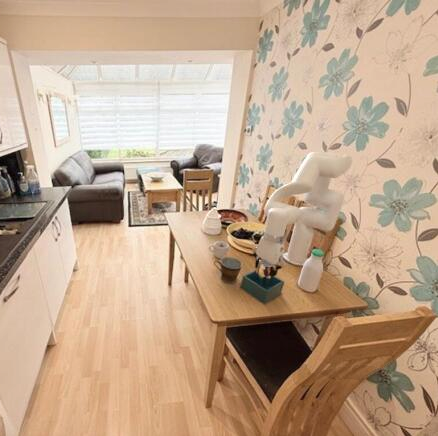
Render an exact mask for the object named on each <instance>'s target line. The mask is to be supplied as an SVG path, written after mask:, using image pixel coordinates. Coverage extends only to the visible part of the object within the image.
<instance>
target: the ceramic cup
mask: <svg viewBox="0 0 438 436" xmlns="http://www.w3.org/2000/svg"><path fill="white" fill-rule="evenodd" d="M216 263H217V264H219V266H220V267H219V266H218V265H216ZM213 265H214V266H215V267H216V268H217V269H218V270H219V271H220V273H221V280H222V281H223V282H224V283H226V284H234V283H236V282H237V278H238V276H239V274H240V272H241V270H242V267H243V262H242V261H241V260H239V259H237V258H236V257H231V256H226V257H225V258H222V259H220V261H219V260H215V261H214V262H213Z"/></svg>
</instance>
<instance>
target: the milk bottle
mask: <svg viewBox="0 0 438 436" xmlns="http://www.w3.org/2000/svg"><path fill="white" fill-rule="evenodd" d="M310 253H311V254H310V256H309V257H308V258H307V259H308V260H307V261H306V262H305V263H304V265H303V266H302V268H301V271H300V274H299V277H298V280H297V287H298V288H299V289H301V290H303V291H305V292H308V293H314V292H316V291H317V290H318V287H319V284H320V281H321V278H322V275H323V272H324V264H323V258H324V256H325V251H323V250H321V249H317V248H313V249H312V250H311V252H310Z"/></svg>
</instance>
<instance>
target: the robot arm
mask: <svg viewBox="0 0 438 436" xmlns="http://www.w3.org/2000/svg"><path fill="white" fill-rule="evenodd" d="M352 162H353V159H352V156H351V155H349V154H347V153H346V154H345V153H337V152H327V151H311V152H309V153H308V154H307V156H306V157H305V159H304V160H303V161H302V163H301V165H300V167H298V169H297V172H296V173H295V175H294V176H293V179H292V180H291V181H290V182H288V183H285V184H284V185H282V186H280V187H279V188H277V189H276V190H274V191H273V192H272V194H271V195H270V197H269V198H268V200H267V202H266V204H265V205H264V209H263V214H264V215H265V217H266V222H265V226H264V230H263V235H262V236H261V237H260V239H259V242H258V244H257V246H255V247H253V248H251V251H252V253H253V256H254V260H255V263H254V268H255V269H257V266H258V263H259V260H260V259H264V260H266V261H268V262H270V263H272V266H273V269H272V270H271V274H270V277H273V276H275V277H277V274H278V270H281V269H283V268H286V267H288V264H287V263H289V264H291V265H294V266H302V267H303V265H304V263H305V262H306V261H307V260H308V259H309V258H308V256H309V255H308V254H310V253H311V252H310V249H311V245H312V242H313V239H314V236H315V232H314V229H317V230H321V231H323V232H324V231H325V232H330V231H332V230H333V229H334V228H335V225H336V223H337V220H338V218H339V215H340V212H341V210H342V207H343V204H344V200H345V196H344V193H342V191H340V190H336V189H335V190H334V189H331V188H329V186H330V182H331V179H337V178H340V177H341V176H342V175H344V174H346V173H347V172H348V171H349V170H350V168H351V166H352ZM303 194H304V197H303V198H304V199H303V201H304V203H305V204H306V205H309V206H301V207H299V206H295V205H292V204H287V203H285V202H280V200H282V199H284V198H286V197H290V196H295V195H303ZM310 206H312V207H310ZM314 207H316V208H314ZM318 208H319V209H318ZM322 209H325V210H322ZM290 225H294V227H293V230H292V234H291V238H290V241H289V244H288V248H287V252H285V243H286V242H287V239H286V238H285V234H286V229H287V226H290ZM285 261H286V262H287V263H286V262H285ZM279 263H280V264H279Z"/></svg>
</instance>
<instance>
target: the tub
mask: <svg viewBox="0 0 438 436" xmlns="http://www.w3.org/2000/svg"><path fill="white" fill-rule="evenodd" d="M256 271H257V268H255V269H254V270H252V271H250V272H248V273H246V274H244V275H242V277H241V282H240V288H241V289H243V290H244V292H246V293H247V294H249V295H251V296H252V297H253V298H254V299H257V301H259V302H261V303H262V304H263V305H265V304H266V303H268V302H270V301H271V300H273V299H274V298H277V297H278V296H279V295H281V294H282V292H283V288H284V285H285V281H284V280H282V279H280V278H279V277H277V276H273V277H272V278H271V280H270V282H269V285H268V290H266V289H264V288H263V287H261V286H260V285H258V284H256Z"/></svg>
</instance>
